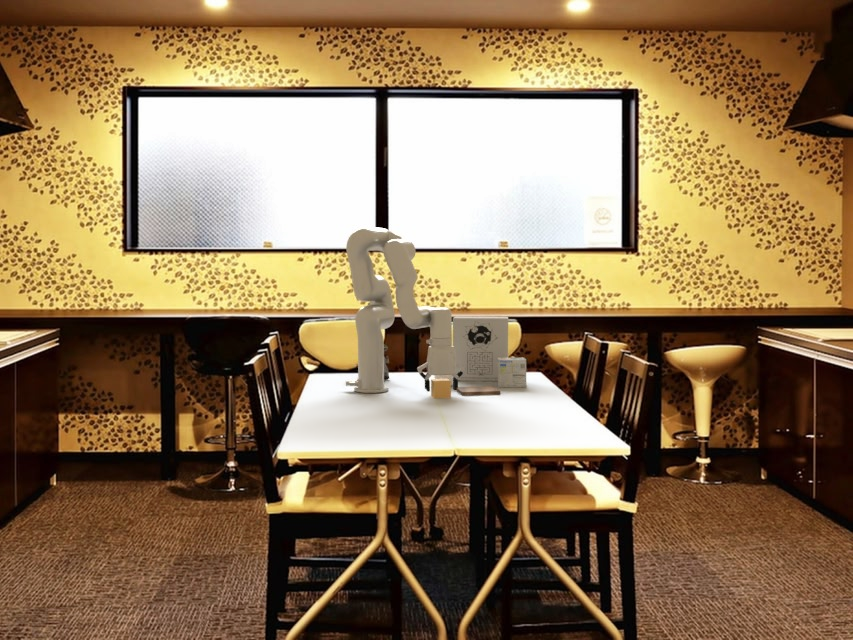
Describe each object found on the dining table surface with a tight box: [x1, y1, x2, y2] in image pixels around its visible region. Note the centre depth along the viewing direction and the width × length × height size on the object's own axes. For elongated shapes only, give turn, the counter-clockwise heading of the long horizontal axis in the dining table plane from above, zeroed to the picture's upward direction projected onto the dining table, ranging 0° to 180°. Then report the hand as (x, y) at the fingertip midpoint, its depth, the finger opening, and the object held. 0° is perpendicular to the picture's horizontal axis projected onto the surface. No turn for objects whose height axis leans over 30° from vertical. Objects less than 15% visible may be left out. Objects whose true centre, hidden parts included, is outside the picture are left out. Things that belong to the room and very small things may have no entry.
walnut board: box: [456, 385, 501, 396], centre depth 337 cm, size 14×11×1 cm
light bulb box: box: [497, 356, 527, 388], centre depth 351 cm, size 11×7×11 cm, turn 92°
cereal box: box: [452, 315, 509, 382], centre depth 367 cm, size 22×8×25 cm, turn 84°
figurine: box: [355, 344, 390, 380], centre depth 367 cm, size 9×12×15 cm
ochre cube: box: [430, 378, 452, 399], centre depth 328 cm, size 6×6×6 cm
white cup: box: [433, 375, 453, 386], centre depth 354 cm, size 8×8×10 cm
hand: (441, 390), depth 328 cm, fingers open, 9 cm apart
